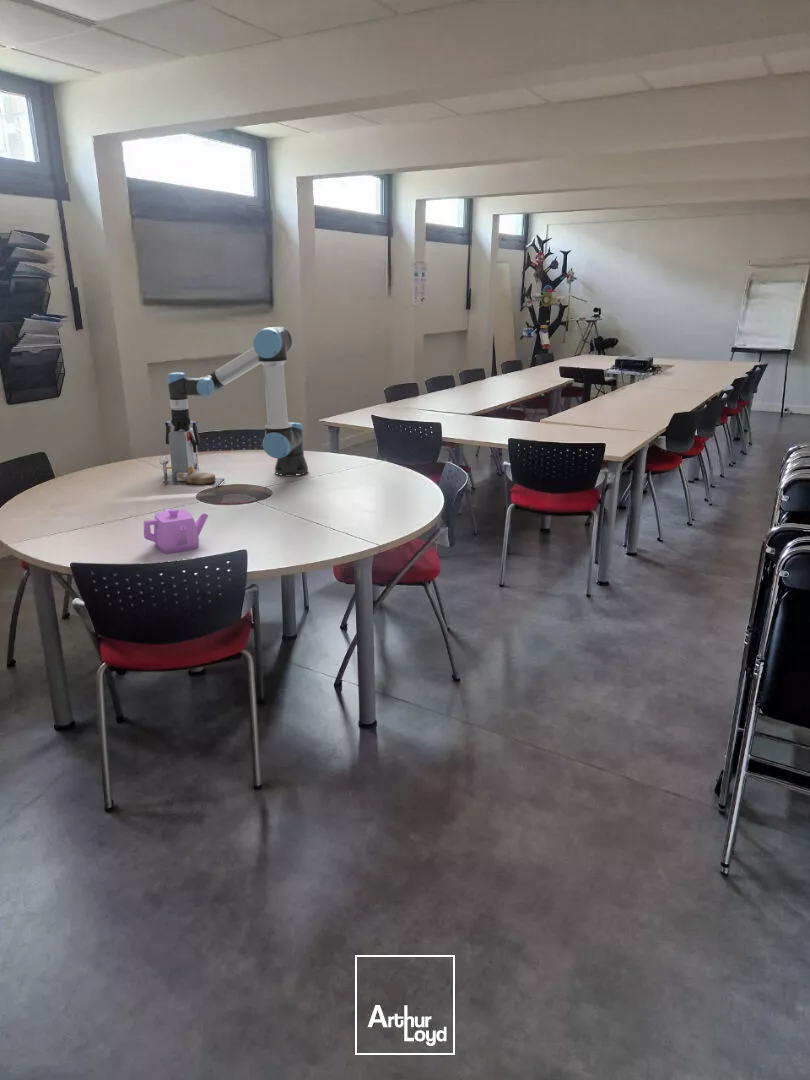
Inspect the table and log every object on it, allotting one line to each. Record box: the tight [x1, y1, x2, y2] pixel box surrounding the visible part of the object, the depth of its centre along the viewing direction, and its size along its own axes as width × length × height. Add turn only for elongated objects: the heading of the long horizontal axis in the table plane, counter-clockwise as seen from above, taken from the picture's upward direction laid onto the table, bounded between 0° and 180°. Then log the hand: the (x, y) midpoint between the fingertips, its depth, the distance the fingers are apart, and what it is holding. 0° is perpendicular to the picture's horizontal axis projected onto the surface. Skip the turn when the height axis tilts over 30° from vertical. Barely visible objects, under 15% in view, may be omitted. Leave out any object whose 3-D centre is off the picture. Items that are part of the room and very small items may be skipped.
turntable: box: [176, 472, 216, 484], centre depth 302 cm, size 16×12×3 cm
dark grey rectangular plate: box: [161, 476, 225, 489], centre depth 302 cm, size 24×12×2 cm, turn 89°
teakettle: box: [143, 508, 209, 555], centre depth 230 cm, size 17×17×12 cm
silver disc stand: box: [159, 456, 173, 484], centre depth 299 cm, size 5×2×11 cm, turn 108°
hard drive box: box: [168, 427, 200, 476], centre depth 316 cm, size 16×8×20 cm, turn 179°
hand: (184, 459), depth 317 cm, fingers closed on hard drive box, 7 cm apart
